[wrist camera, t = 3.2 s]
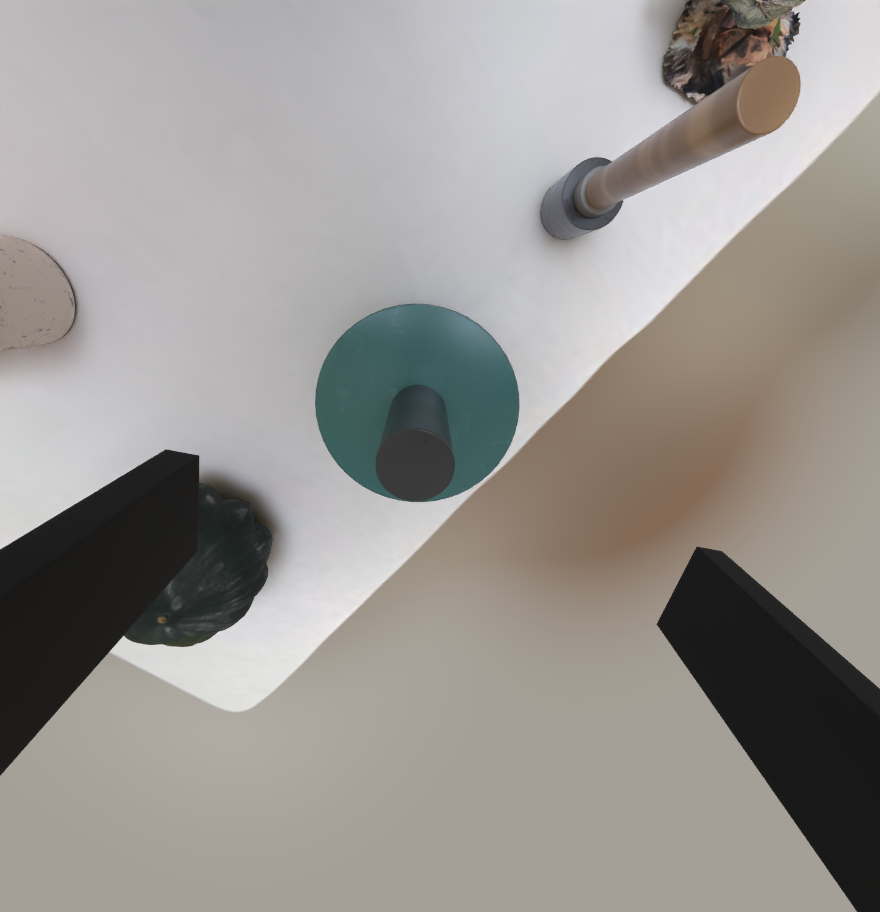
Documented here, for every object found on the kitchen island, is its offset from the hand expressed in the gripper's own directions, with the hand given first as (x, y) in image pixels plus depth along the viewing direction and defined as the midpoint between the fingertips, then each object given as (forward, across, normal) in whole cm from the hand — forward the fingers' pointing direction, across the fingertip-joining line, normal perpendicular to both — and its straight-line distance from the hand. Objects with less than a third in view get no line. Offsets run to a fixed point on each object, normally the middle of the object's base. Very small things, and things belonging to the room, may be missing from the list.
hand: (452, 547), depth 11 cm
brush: (+30, +8, +15) cm, 35 cm away
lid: (+18, -1, -1) cm, 18 cm away
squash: (+30, -19, -22) cm, 42 cm away
